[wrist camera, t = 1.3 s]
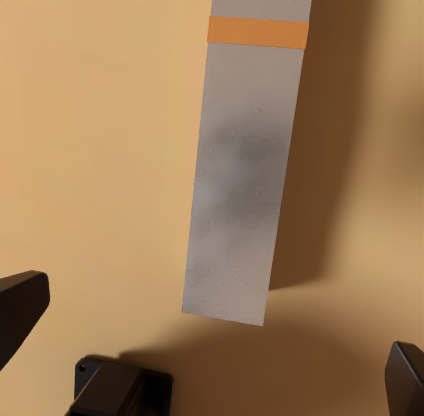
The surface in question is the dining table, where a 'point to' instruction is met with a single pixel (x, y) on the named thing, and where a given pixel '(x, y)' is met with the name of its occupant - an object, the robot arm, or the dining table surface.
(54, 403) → the dining table surface
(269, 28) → the grey banded block
